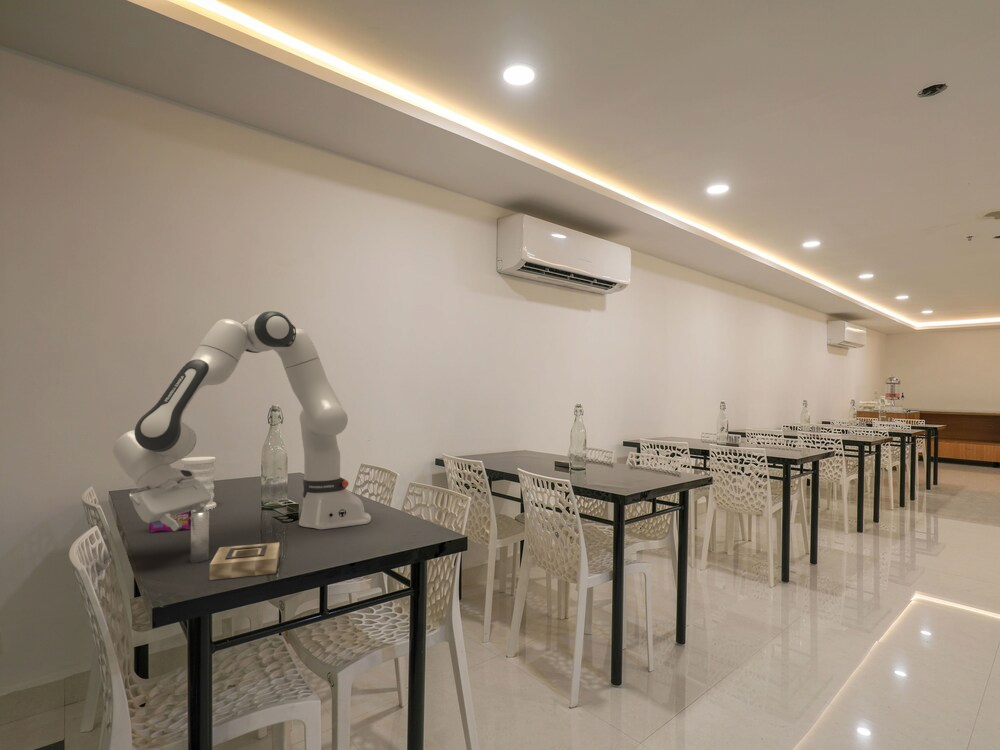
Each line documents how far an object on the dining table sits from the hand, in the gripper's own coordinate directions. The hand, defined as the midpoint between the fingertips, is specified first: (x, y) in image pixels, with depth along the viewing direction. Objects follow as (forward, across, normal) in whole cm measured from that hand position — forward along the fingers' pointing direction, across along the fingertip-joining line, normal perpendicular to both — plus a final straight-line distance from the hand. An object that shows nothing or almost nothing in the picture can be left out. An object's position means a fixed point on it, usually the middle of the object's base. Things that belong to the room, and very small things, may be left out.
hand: (192, 524), depth 140 cm
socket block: (+19, -3, -6) cm, 20 cm away
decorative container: (-23, +51, +36) cm, 66 cm away
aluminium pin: (+8, 0, +5) cm, 9 cm away
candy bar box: (-13, +24, +26) cm, 38 cm away
